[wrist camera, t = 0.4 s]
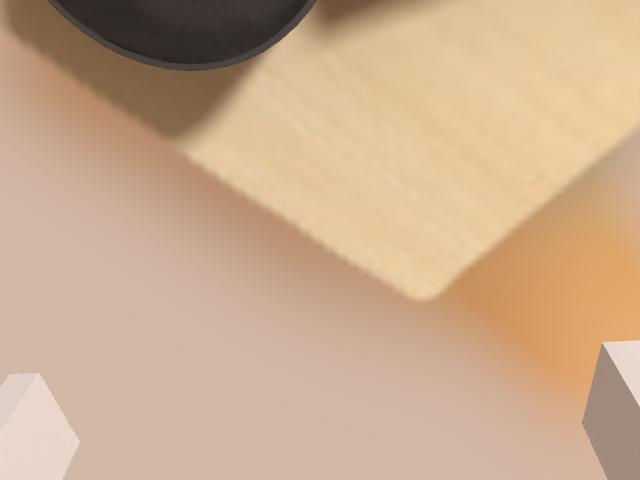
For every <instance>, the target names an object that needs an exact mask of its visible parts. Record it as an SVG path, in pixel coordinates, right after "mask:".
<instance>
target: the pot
mask: <svg viewBox="0 0 640 480" xmlns="http://www.w3.org/2000/svg"><path fill="white" fill-rule="evenodd" d="M48 1H49V2H50V3H51V4H52V5H53V6H54V7H55V8H56V9H57V10H58V11H59V12H60V13H61V14H62V15H63V16H64V17H65V18H66V19H67V20H69V21H70V22H71V23H72V24H73V25H75V26H76V27H77V28H78V29H80V30H81V31H82V32H83V33H85V34H86V35H88V36H89V37H91V38H92V39H94V40H95V41H97V42H98V43H100V44H102V45H103V46H105V47H107V48H109V49H111V50H113V51H115V52H117V53H119V54H121V55H123V56H125V57H128V58H130V59H133V60H136V61H139V62H141V63H144V64H148V65H152V66H156V67H161V68H165V69H174V70H184V71H192V70H210V69H216V68H222V67H227V66H230V65H233V64H236V63H239V62H242V61H245V60H247V59H249V58H252V57H254V56H256V55H258V54H260V53H262V52H264V51H265V50H267V49H268V48H270V47H271V46H273V45H274V44H276V43H277V42H279V41H280V40H281V39H283V38H284V37H285V36H286V35H287V34H288V33H289V32H290V31H291V30H293V29H294V28H295V27H296V26H297V25H298V24H299V22H300V21H301V20H302V19H303V18H304V17H305V15H306V14H307V13H308V12H309V11H310V10H311V8H312V7H313V5H314V4H315V2H316V1H317V0H48Z"/></svg>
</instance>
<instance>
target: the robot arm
mask: <svg viewBox="0 0 640 480" xmlns="http://www.w3.org/2000/svg"><path fill="white" fill-rule="evenodd" d="M582 424H583V426H584V428H585V430H586V433H587V435H588V437H589V439H590V441H591V444H592V446H593V448H594V450H595V452H596V455H597V457H598V459H599V461H600V463H601V466H602V468H603V470H604V472H605V475H606V477H607V479H608V480H640V341H639V340H637V341H618V342H602V345H601V349H600V353H599V357H598V361H597V365H596V369H595V373H594V377H593V382H592V385H591V389H590V393H589V397H588V401H587V405H586V409H585V413H584V417H583V421H582ZM79 444H80V441H79V440H78V438H77V437H76V435H75V433H74V431H73V430H72V428H71V426H70V425H69V423H68V421H67V419H66V418H65V416H64V414H63V413H62V411H61V409H60V408H59V406H58V404H57V403H56V401H55V399H54V398H53V396H52V394H51V392H50V391H49V389H48V388H47V386H46V384H45V382H44V381H43V379H42V377H41V376H40V374H39V373H21V374H9V375H8V377H7V378H6V380H5V381H4V382H3V384H2V385H1V387H0V480H62V479H63V477H64V475H65V473H66V471H67V469H68V467H69V465H70V462H71V461H72V459H73V457H74V455H75V452H76V450H77V448H78V446H79Z"/></svg>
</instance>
